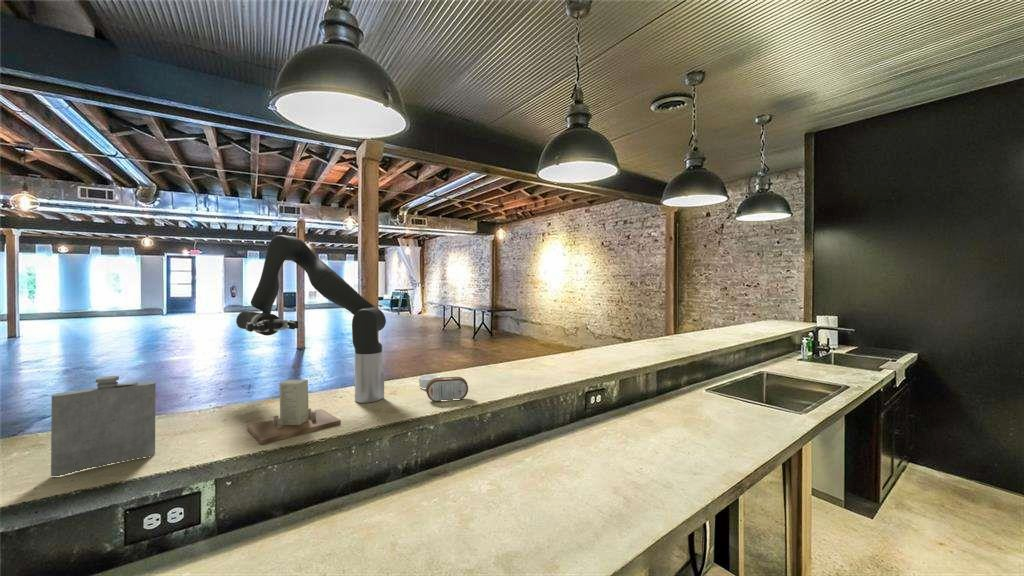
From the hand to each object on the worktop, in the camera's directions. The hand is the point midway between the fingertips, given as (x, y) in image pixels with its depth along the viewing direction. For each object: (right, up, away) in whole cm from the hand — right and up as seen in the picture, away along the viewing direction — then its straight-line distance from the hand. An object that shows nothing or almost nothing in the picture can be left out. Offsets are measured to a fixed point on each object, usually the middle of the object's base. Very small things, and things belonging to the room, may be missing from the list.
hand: (279, 327), depth 118 cm
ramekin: (+41, -29, +32) cm, 60 cm away
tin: (+52, -29, +14) cm, 61 cm away
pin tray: (+12, -28, -11) cm, 32 cm away
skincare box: (+12, -27, -11) cm, 31 cm away
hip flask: (-18, -28, -34) cm, 48 cm away
